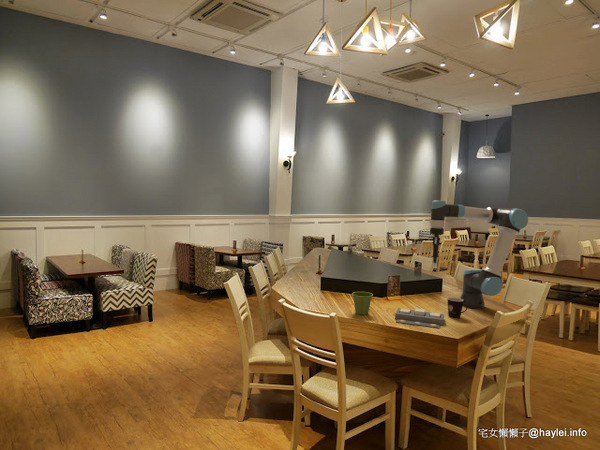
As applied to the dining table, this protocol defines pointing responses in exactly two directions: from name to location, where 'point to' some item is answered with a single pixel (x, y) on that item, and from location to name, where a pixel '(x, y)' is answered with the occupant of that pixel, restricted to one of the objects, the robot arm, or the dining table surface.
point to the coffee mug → (455, 307)
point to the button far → (405, 311)
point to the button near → (435, 315)
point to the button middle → (419, 312)
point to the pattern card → (418, 323)
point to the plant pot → (362, 302)
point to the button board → (419, 317)
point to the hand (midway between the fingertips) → (434, 268)
